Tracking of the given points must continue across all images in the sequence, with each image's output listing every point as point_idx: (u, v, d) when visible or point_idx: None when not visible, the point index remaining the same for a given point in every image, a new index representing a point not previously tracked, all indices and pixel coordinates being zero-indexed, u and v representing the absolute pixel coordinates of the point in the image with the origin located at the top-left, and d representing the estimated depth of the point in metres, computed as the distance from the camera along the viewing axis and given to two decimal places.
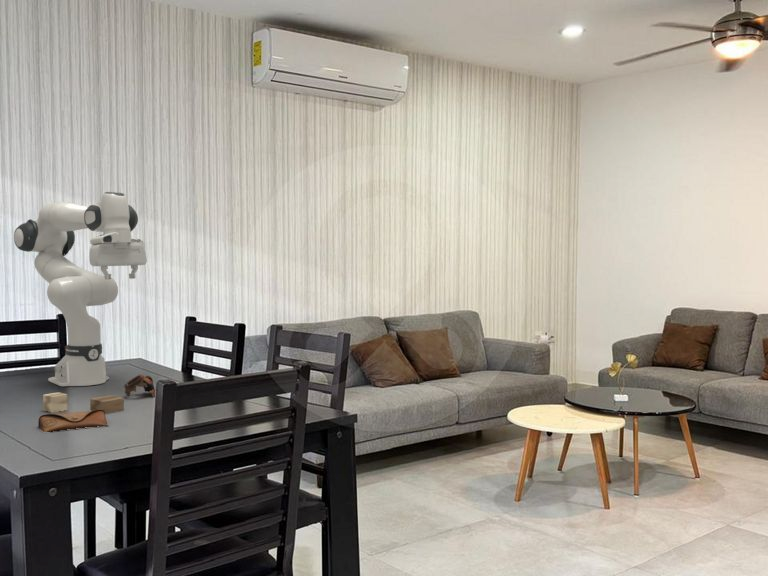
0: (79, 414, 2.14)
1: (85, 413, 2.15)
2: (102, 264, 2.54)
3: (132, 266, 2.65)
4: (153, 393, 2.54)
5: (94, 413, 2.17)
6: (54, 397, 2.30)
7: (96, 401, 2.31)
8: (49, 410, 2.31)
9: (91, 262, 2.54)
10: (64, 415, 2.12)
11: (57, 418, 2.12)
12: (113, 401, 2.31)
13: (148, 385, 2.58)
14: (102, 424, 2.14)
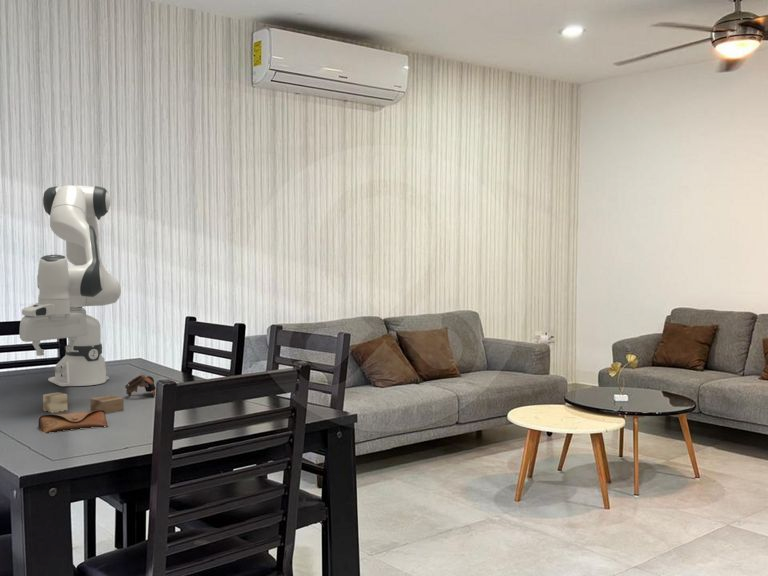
0: (80, 414, 2.14)
1: (85, 413, 2.14)
2: (33, 340, 2.25)
3: (70, 338, 2.36)
4: (154, 393, 2.54)
5: (94, 413, 2.17)
6: (54, 397, 2.30)
7: (96, 401, 2.31)
8: (49, 410, 2.31)
9: (20, 337, 2.24)
10: (64, 415, 2.12)
11: (57, 418, 2.11)
12: (113, 401, 2.31)
13: (149, 385, 2.58)
14: (102, 424, 2.13)
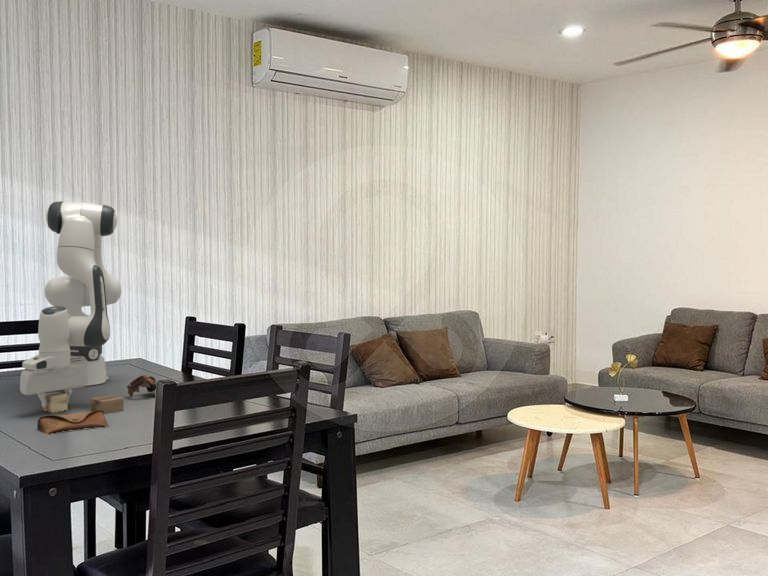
0: (79, 415, 2.13)
1: (85, 414, 2.14)
2: (34, 393, 2.26)
3: (66, 389, 2.36)
4: None
5: (94, 414, 2.16)
6: (54, 397, 2.30)
7: (96, 401, 2.31)
8: (49, 410, 2.31)
9: (21, 390, 2.25)
10: (64, 416, 2.11)
11: (57, 419, 2.10)
12: (112, 401, 2.31)
13: (151, 385, 2.58)
14: (103, 424, 2.13)
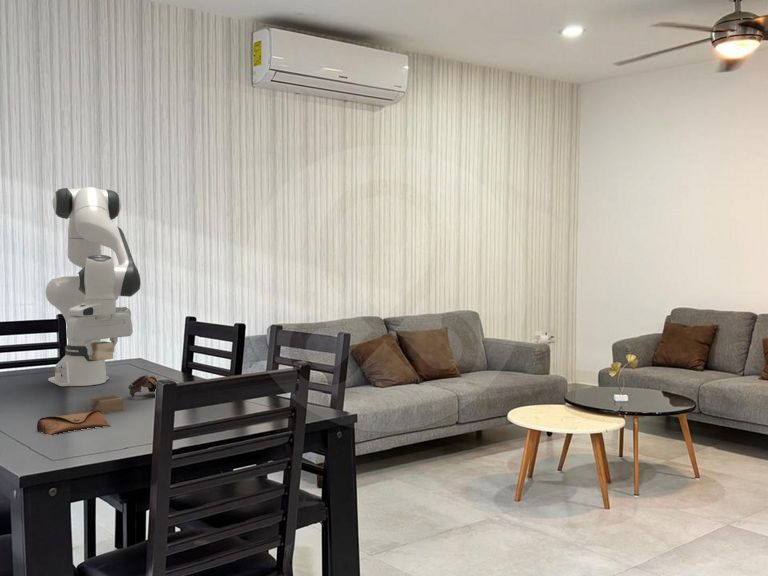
0: (80, 415, 2.13)
1: (85, 414, 2.14)
2: (81, 340, 2.25)
3: (111, 338, 2.35)
4: None
5: (93, 414, 2.16)
6: (100, 344, 2.29)
7: (95, 401, 2.31)
8: (95, 358, 2.30)
9: (68, 337, 2.25)
10: (65, 417, 2.10)
11: (58, 420, 2.09)
12: (112, 401, 2.31)
13: (152, 386, 2.58)
14: (104, 424, 2.13)
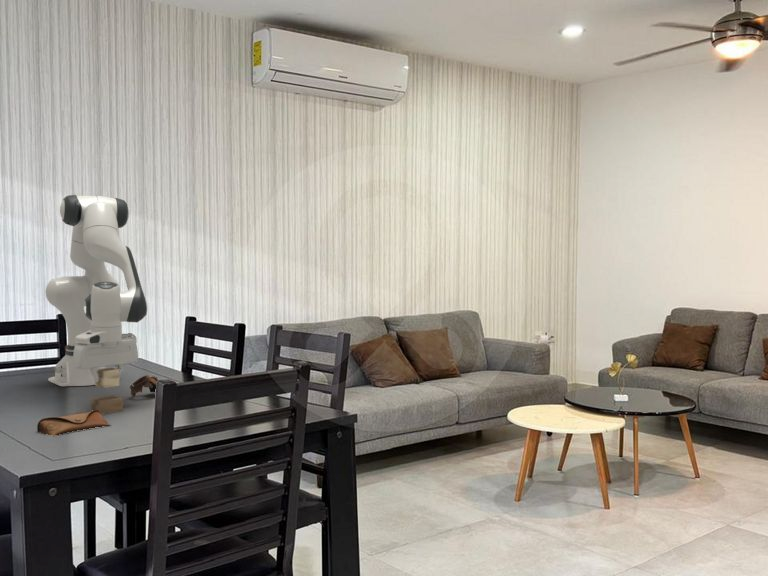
0: (80, 415, 2.12)
1: (85, 414, 2.13)
2: (87, 367, 2.26)
3: (117, 365, 2.36)
4: None
5: (92, 414, 2.16)
6: (106, 371, 2.30)
7: (95, 401, 2.31)
8: (101, 385, 2.31)
9: (74, 365, 2.25)
10: (66, 417, 2.09)
11: (59, 421, 2.08)
12: (112, 401, 2.31)
13: (154, 386, 2.57)
14: (105, 424, 2.14)
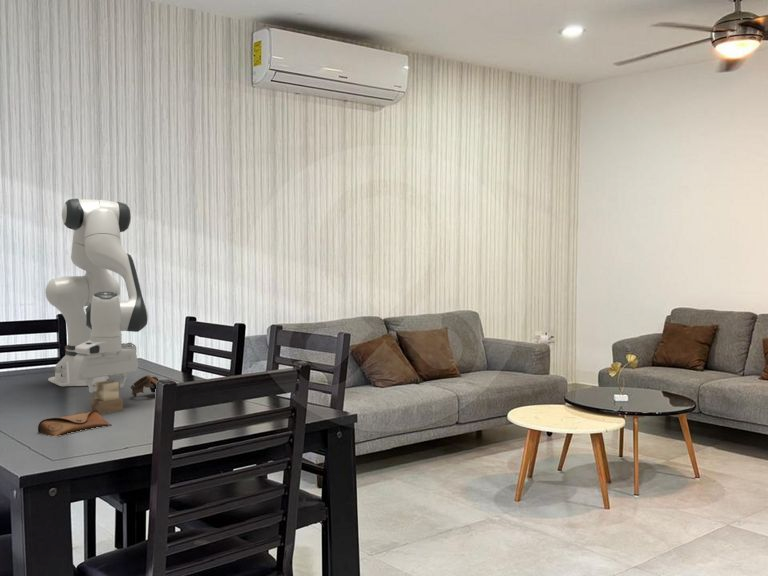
0: (80, 415, 2.12)
1: (85, 414, 2.13)
2: (87, 377, 2.26)
3: (121, 374, 2.37)
4: None
5: (91, 414, 2.16)
6: (106, 385, 2.31)
7: (95, 401, 2.31)
8: (101, 398, 2.31)
9: (74, 375, 2.26)
10: (67, 418, 2.09)
11: (60, 421, 2.08)
12: (111, 401, 2.31)
13: (155, 386, 2.57)
14: (106, 424, 2.14)
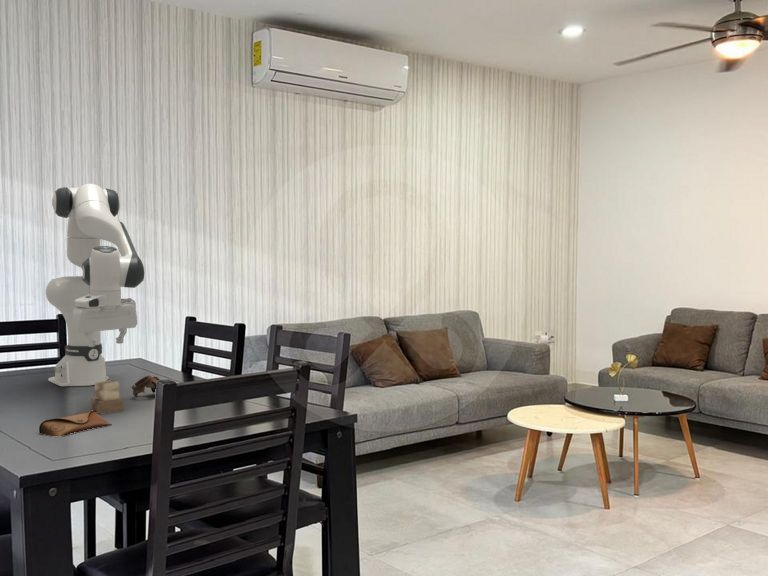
0: (81, 416, 2.12)
1: (85, 415, 2.13)
2: (86, 331, 2.25)
3: (120, 329, 2.36)
4: None
5: (91, 414, 2.16)
6: (107, 384, 2.31)
7: (95, 401, 2.31)
8: (101, 397, 2.31)
9: (73, 328, 2.25)
10: (68, 418, 2.08)
11: (61, 422, 2.07)
12: (111, 401, 2.31)
13: (155, 386, 2.57)
14: (106, 423, 2.14)
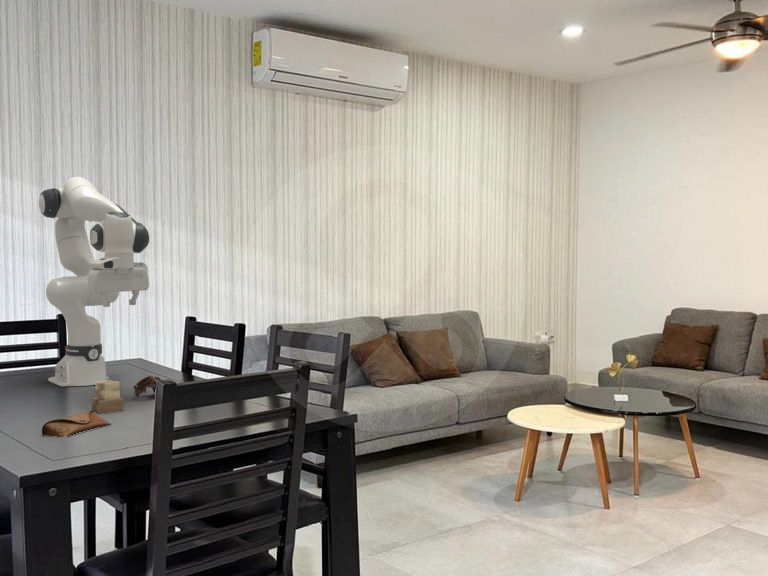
0: (81, 416, 2.12)
1: (86, 415, 2.13)
2: (101, 291, 2.37)
3: (133, 291, 2.49)
4: None
5: (90, 414, 2.16)
6: (108, 384, 2.31)
7: (95, 401, 2.31)
8: (102, 397, 2.31)
9: (89, 288, 2.37)
10: (70, 419, 2.08)
11: (64, 423, 2.06)
12: (112, 401, 2.31)
13: None
14: (107, 423, 2.15)
